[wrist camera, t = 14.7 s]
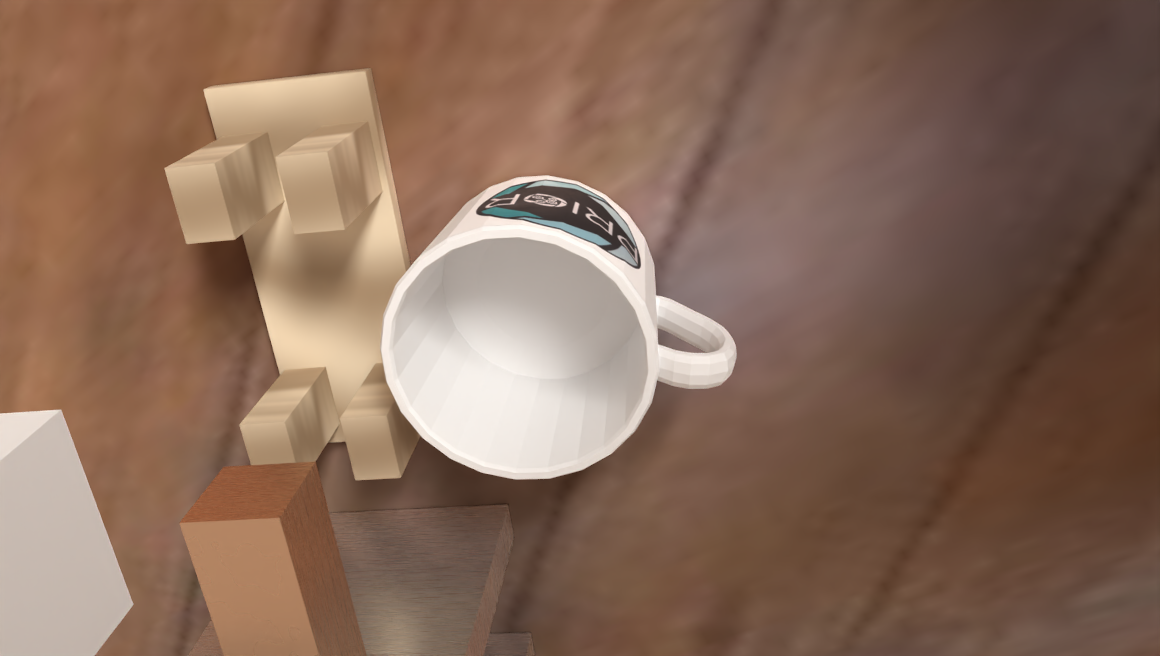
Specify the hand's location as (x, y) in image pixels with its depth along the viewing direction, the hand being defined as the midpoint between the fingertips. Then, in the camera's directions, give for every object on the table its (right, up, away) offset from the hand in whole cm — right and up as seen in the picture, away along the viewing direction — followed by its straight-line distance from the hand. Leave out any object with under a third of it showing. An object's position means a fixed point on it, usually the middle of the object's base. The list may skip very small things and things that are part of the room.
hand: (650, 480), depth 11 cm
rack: (-12, +4, +34) cm, 36 cm away
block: (-11, -15, +29) cm, 35 cm away
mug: (-1, +4, +34) cm, 34 cm away
